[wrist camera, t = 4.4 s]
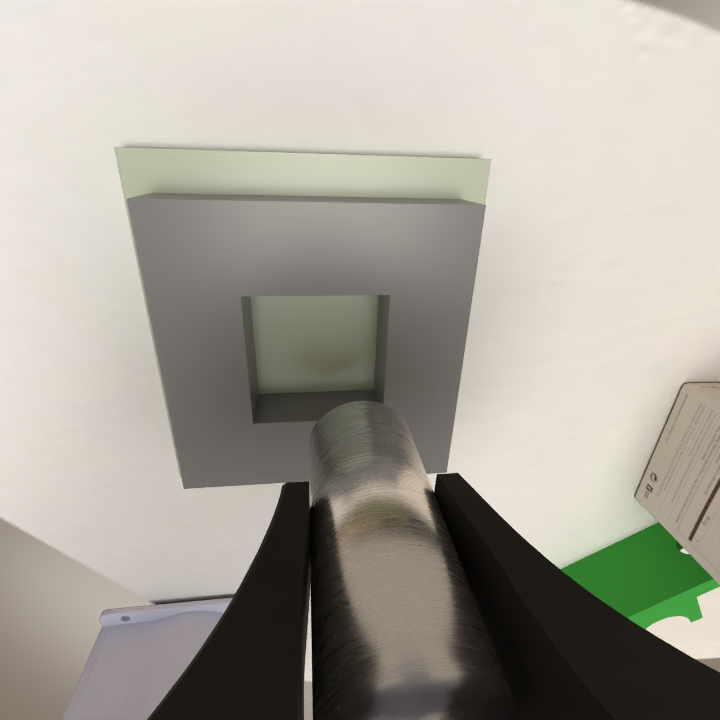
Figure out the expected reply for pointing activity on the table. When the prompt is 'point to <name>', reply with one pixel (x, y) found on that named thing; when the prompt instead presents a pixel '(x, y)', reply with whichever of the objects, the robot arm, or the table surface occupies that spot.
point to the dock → (301, 297)
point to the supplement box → (689, 475)
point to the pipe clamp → (645, 577)
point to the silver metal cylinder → (390, 584)
